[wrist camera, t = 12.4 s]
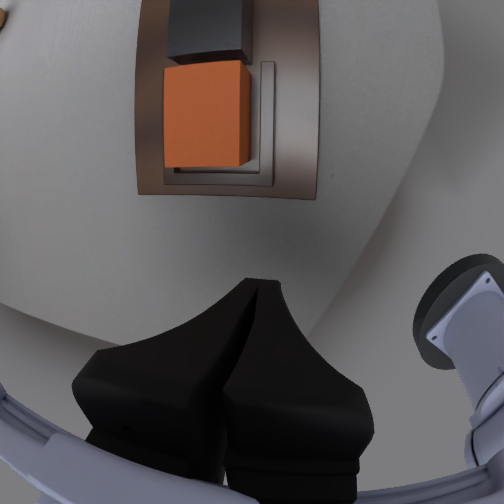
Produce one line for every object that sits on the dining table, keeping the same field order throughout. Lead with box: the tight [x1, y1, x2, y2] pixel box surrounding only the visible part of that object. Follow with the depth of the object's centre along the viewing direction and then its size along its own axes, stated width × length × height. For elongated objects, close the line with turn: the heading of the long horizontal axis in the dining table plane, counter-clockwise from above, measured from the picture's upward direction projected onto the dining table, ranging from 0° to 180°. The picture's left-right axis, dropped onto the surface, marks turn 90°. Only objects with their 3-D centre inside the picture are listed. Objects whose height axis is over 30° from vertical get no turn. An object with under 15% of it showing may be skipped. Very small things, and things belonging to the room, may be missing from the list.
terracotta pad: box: [164, 60, 251, 168], centre depth 14 cm, size 6×4×4 cm
